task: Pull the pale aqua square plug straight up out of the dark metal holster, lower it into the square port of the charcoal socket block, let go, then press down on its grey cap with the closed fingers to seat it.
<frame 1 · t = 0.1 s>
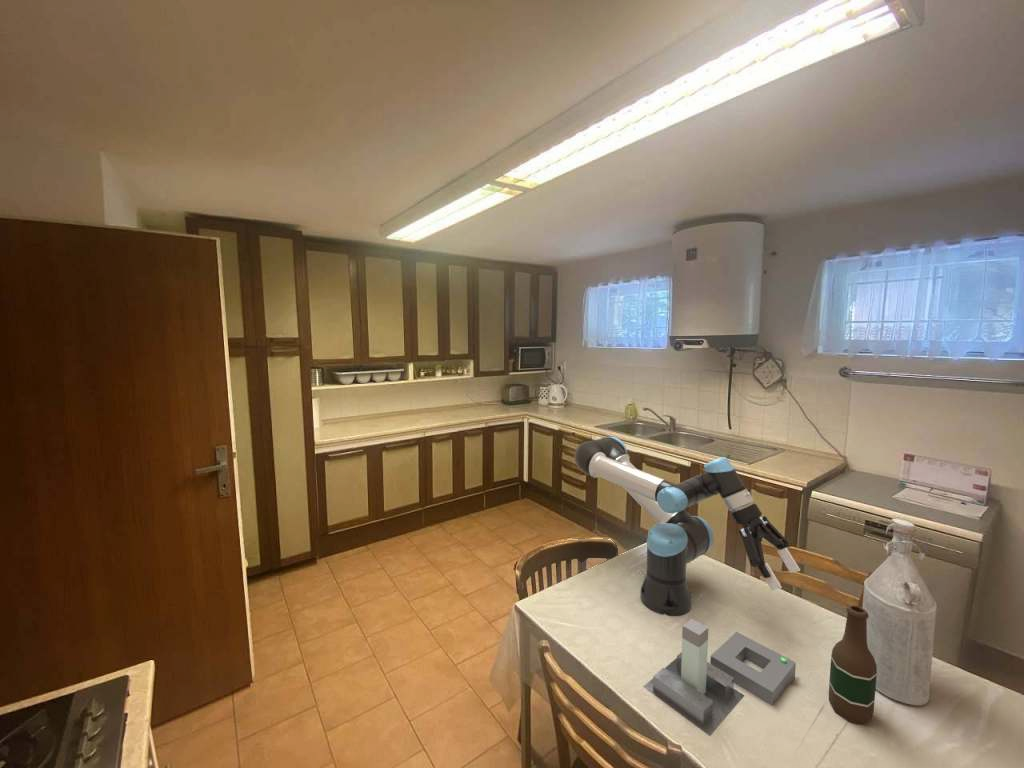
hand: (786, 580, 117), 15 cm above the table, fingers open, 13 cm apart
port: (752, 674, 104), on the table
beer bottle: (849, 711, 93), on the table
canister: (892, 682, 101), on the table
holster: (693, 694, 98), on the table
plug: (693, 690, 98), point 1 cm above the table, touching holster
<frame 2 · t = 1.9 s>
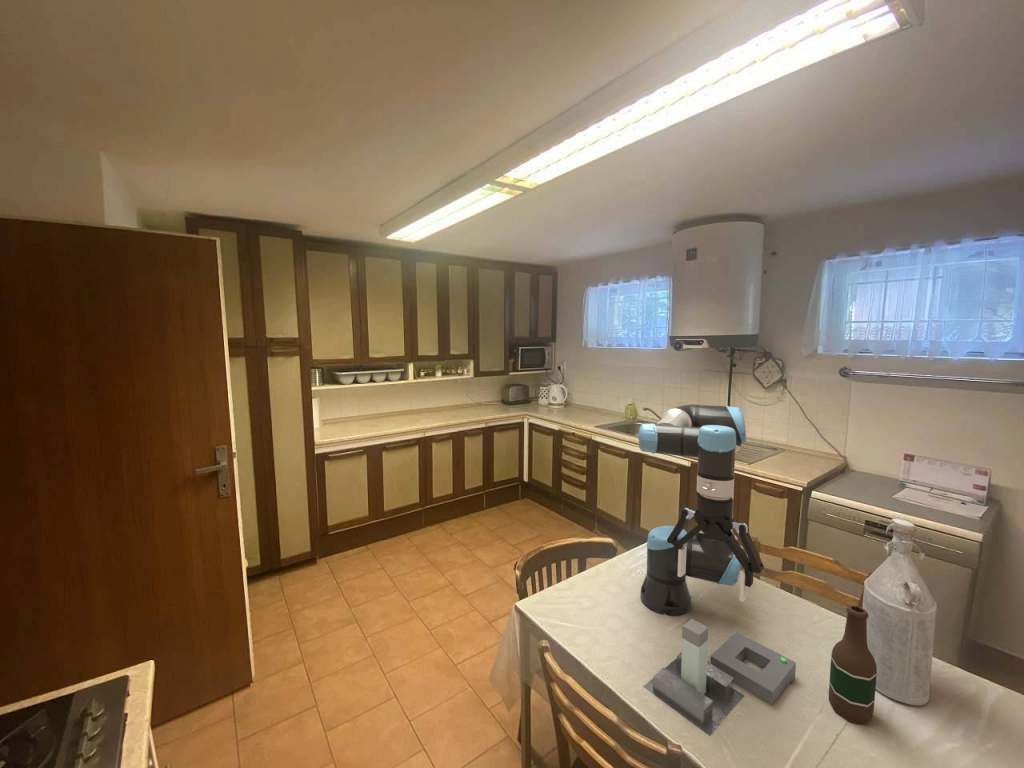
hand: (710, 586, 95), 26 cm above the table, fingers open, 13 cm apart
nothing on the table moved.
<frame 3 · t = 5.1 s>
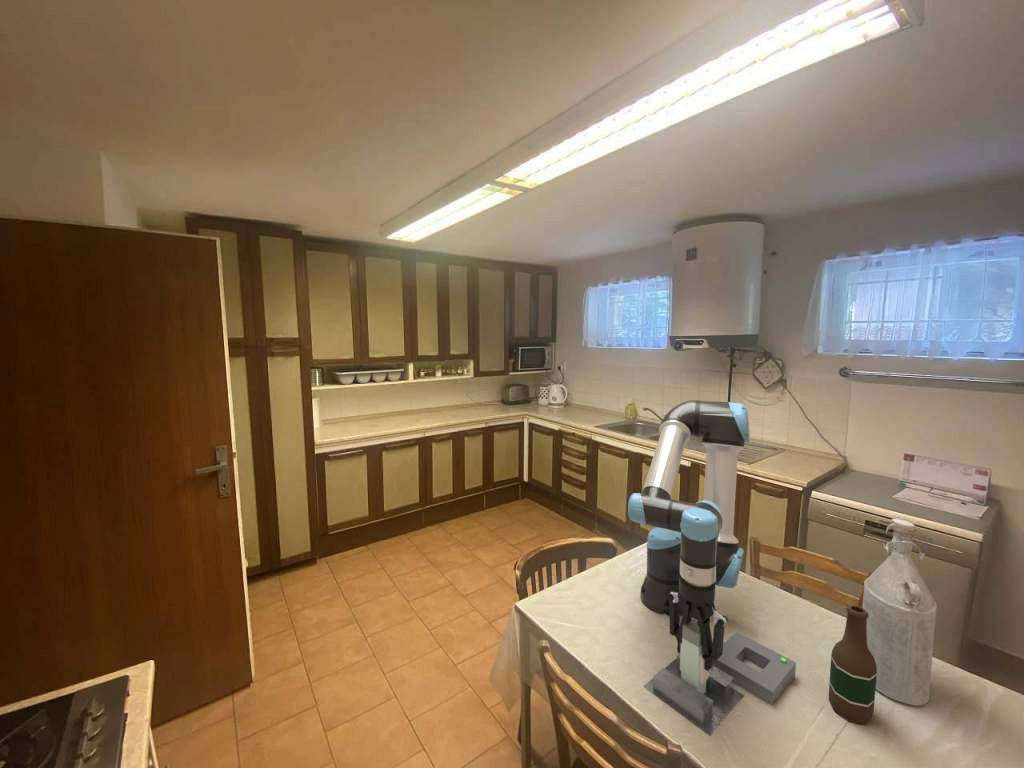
hand: (693, 673, 97), 5 cm above the table, fingers closed on plug, 4 cm apart
plug: (693, 690, 98), point 1 cm above the table, touching gripper, holster
everything else where it was.
when the fingers open (6 cm above the table, at t = 10.6 s): plug drops 2 cm, resting in port.
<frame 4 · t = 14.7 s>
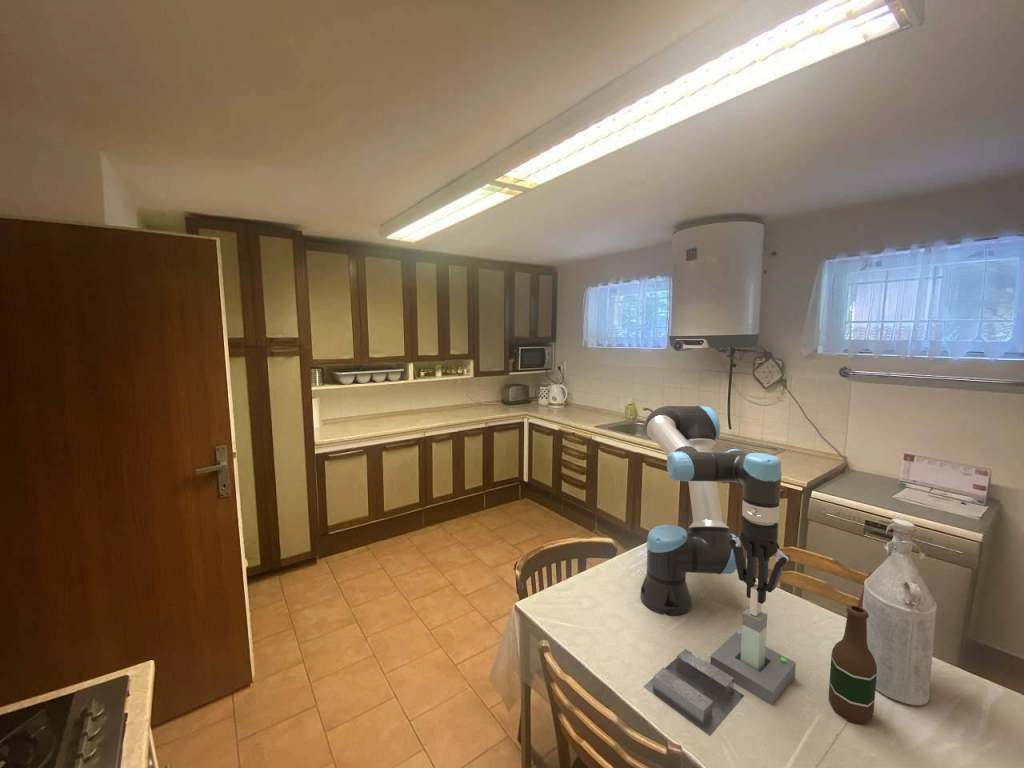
hand: (755, 612, 102), 16 cm above the table, fingers closed
plug: (751, 674, 104), resting in port, touching gripper
everything else where it was.
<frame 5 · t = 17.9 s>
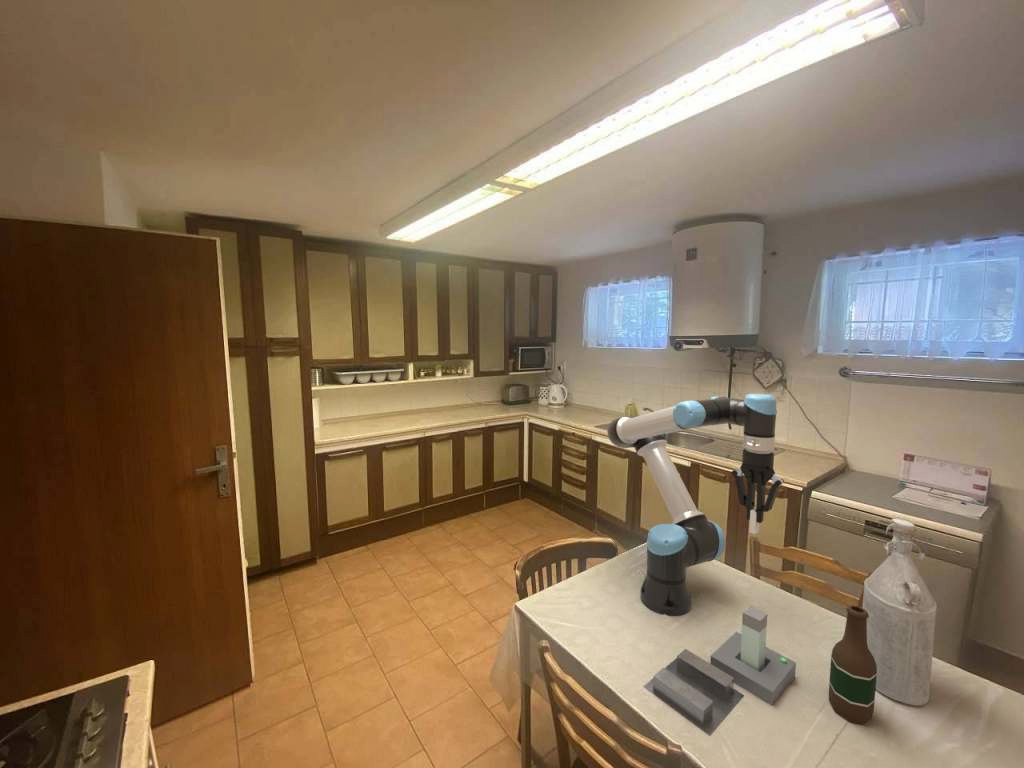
hand: (754, 531, 118), 28 cm above the table, fingers closed
plug: (751, 674, 104), resting in port
everything else where it was.
at the end: plug 0.0 cm off-centre on the port, point 0.0 cm above the port's base; plug tilted 0°; the gripper is holding nothing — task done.
